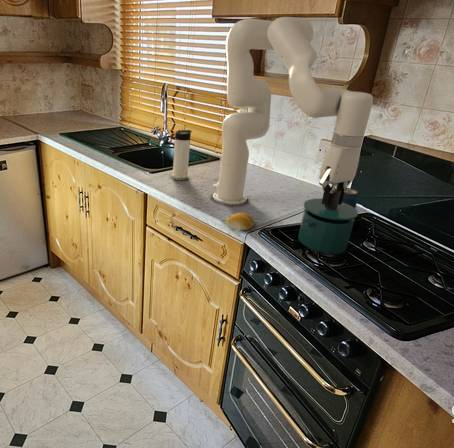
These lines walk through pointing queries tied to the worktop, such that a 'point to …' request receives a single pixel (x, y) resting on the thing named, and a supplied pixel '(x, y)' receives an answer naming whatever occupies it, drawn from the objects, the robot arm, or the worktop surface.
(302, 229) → the pot
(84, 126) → the worktop surface
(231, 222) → the bread roll
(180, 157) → the travel mug
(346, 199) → the soda can
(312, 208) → the lid
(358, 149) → the robot arm
